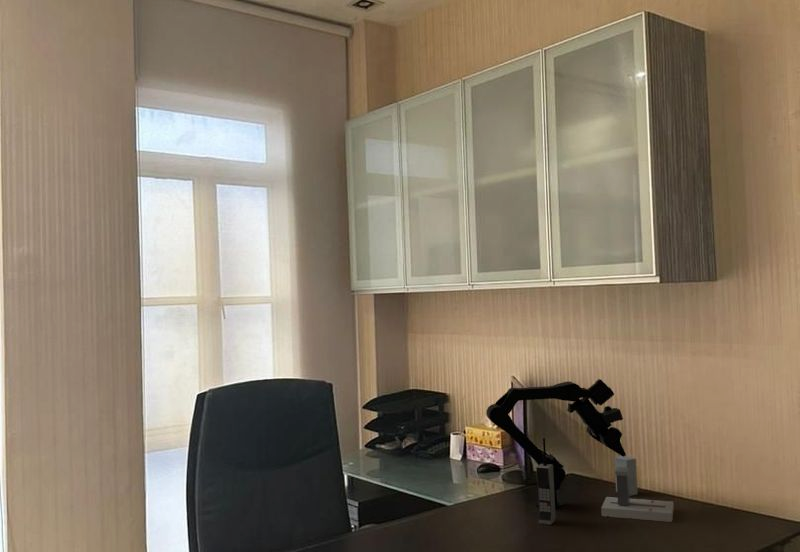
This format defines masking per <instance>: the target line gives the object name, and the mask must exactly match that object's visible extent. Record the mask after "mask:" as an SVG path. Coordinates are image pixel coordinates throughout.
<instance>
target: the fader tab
mask: <svg viewBox="0 0 800 552" xmlns="http://www.w3.org/2000/svg"><path fill="white" fill-rule="evenodd" d="M614 475H617V492H616V494H617V495H616V497H617V498H618V505H628V504H629V502H630V499H631V498H630V497H631V496H630V495H629V468H628V467H617V469H616V471H615V470H614Z"/></svg>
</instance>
